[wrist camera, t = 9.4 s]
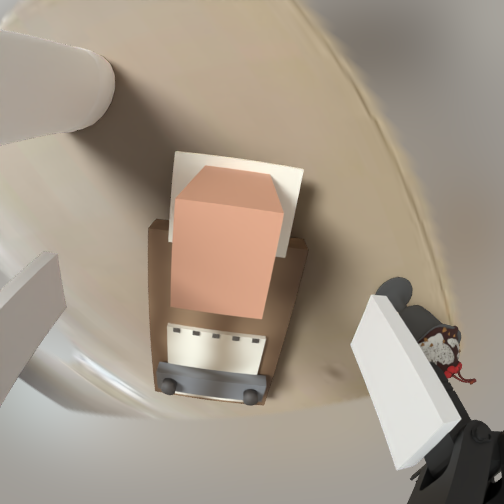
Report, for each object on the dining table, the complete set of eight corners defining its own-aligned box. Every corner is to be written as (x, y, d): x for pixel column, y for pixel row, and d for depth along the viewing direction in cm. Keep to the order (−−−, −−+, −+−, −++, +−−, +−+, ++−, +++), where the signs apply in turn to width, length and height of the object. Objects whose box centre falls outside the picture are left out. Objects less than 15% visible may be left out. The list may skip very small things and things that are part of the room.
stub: (169, 239, 26) (128, 310, 16) (176, 151, 22) (125, 176, 13) (284, 255, 26) (302, 334, 17) (302, 168, 23) (339, 206, 14)
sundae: (427, 286, 31) (496, 374, 17) (390, 327, 33) (440, 423, 20) (396, 258, 29) (472, 353, 16) (355, 304, 32) (405, 412, 18)
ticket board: (159, 377, 37) (149, 410, 31) (156, 218, 27) (135, 243, 22) (263, 390, 38) (264, 425, 32) (303, 239, 28) (315, 268, 23)
